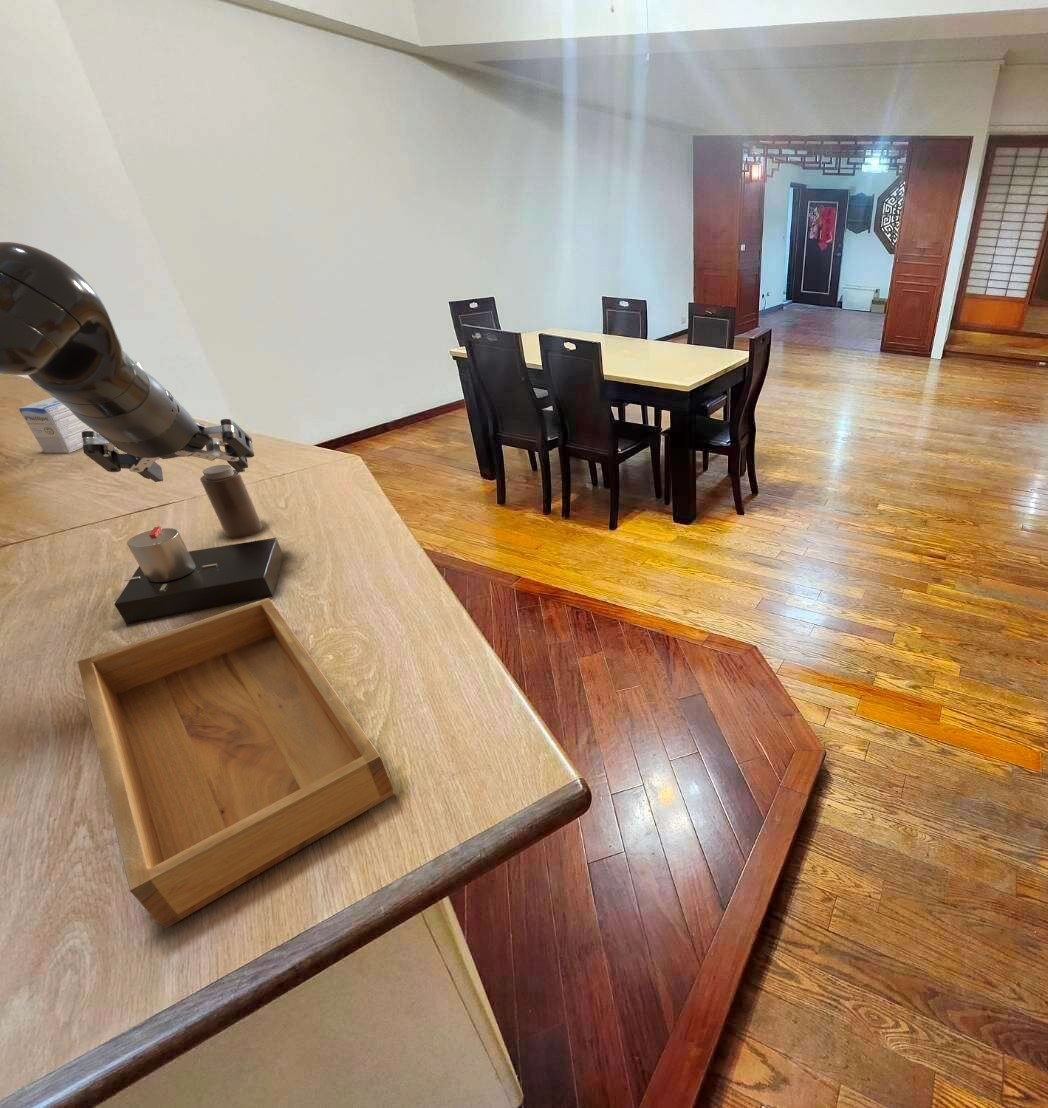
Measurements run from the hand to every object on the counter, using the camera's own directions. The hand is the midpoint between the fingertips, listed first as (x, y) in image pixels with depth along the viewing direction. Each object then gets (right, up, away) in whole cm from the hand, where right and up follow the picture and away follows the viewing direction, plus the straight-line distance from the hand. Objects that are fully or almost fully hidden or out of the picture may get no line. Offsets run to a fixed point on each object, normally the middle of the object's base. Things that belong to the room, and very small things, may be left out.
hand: (201, 470), depth 77 cm
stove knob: (+1, -13, -5) cm, 14 cm away
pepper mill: (-3, -8, +10) cm, 13 cm away
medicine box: (-57, +10, +36) cm, 68 cm away
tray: (+25, -29, -23) cm, 45 cm away
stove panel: (+3, -15, -2) cm, 16 cm away
